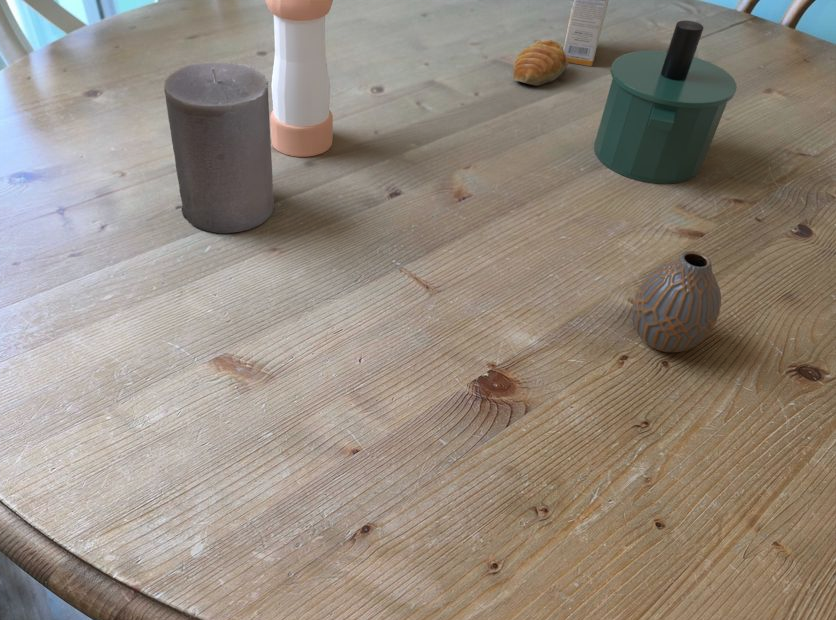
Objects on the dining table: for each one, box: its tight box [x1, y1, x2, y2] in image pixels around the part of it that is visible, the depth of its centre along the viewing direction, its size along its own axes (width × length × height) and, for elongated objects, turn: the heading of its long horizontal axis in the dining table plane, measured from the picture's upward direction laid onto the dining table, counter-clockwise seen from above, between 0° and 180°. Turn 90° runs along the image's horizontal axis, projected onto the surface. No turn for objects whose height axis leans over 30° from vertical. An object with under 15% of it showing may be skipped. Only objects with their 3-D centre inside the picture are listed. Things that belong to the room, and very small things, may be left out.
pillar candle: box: [163, 61, 275, 234], centre depth 74 cm, size 10×10×15 cm
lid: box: [610, 20, 737, 108], centre depth 82 cm, size 14×14×7 cm
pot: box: [593, 78, 728, 185], centre depth 88 cm, size 13×18×10 cm
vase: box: [631, 250, 722, 353], centre depth 64 cm, size 7×7×9 cm
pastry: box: [512, 39, 569, 87], centre depth 105 cm, size 9×7×4 cm
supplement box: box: [563, 0, 610, 67], centre depth 108 cm, size 8×5×13 cm, turn 163°
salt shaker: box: [265, 0, 334, 158], centre depth 83 cm, size 7×7×19 cm
